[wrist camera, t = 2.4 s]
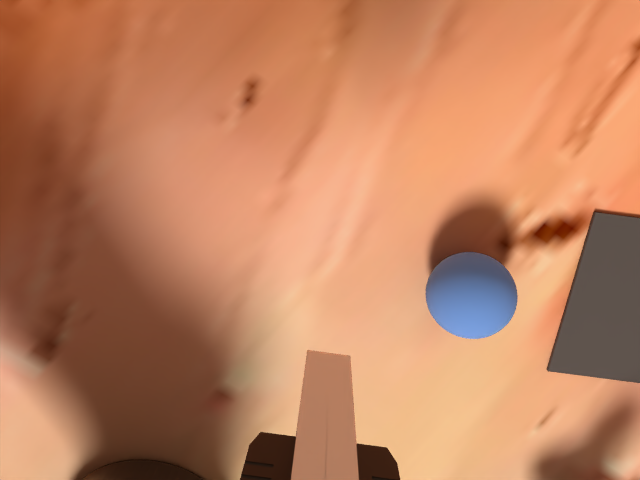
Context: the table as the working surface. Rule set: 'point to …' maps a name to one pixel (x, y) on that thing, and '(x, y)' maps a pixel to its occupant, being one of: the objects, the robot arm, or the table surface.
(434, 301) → the ball
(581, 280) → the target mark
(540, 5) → the table surface
